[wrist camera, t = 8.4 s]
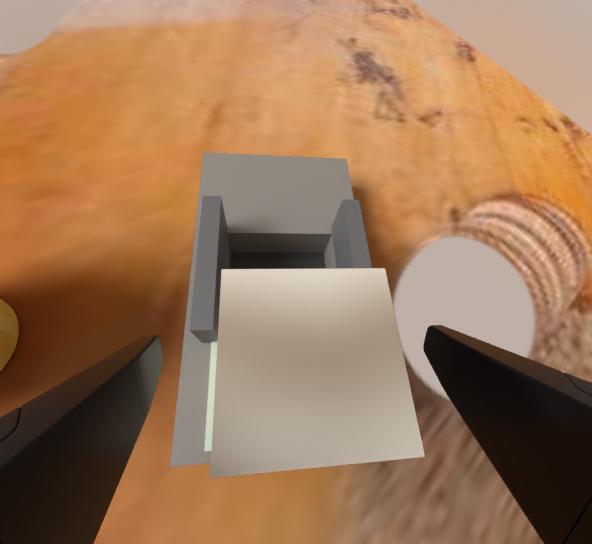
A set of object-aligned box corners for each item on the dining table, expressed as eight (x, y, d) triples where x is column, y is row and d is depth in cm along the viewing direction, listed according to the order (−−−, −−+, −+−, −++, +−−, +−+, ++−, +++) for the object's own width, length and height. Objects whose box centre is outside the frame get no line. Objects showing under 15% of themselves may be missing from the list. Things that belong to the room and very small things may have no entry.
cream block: (339, 426, 14) (424, 456, 7) (237, 435, 13) (210, 478, 6) (328, 327, 16) (385, 268, 9) (240, 330, 15) (221, 269, 8)
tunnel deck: (376, 437, 17) (431, 456, 11) (186, 454, 15) (145, 484, 10) (337, 185, 25) (358, 125, 19) (209, 181, 23) (194, 115, 18)
